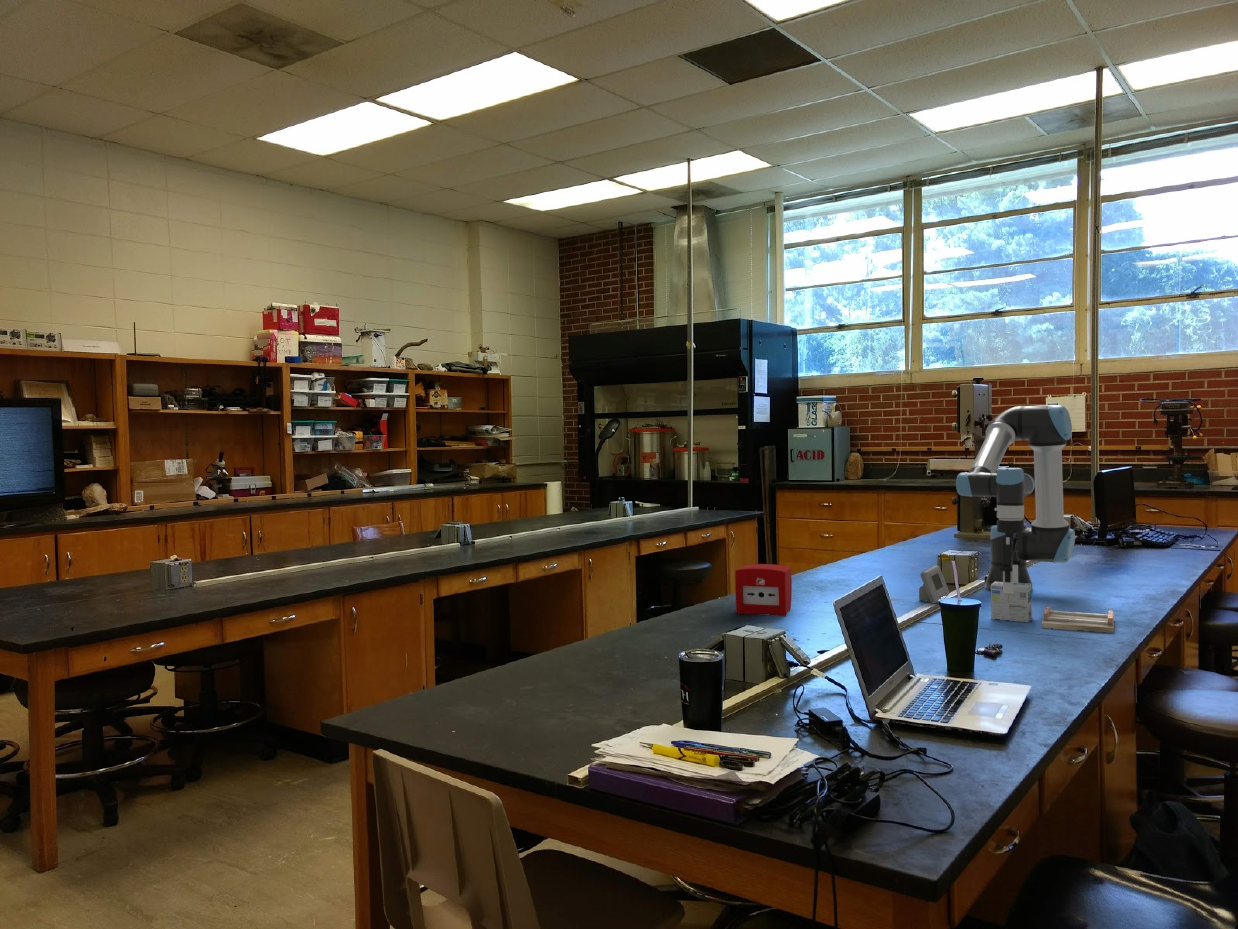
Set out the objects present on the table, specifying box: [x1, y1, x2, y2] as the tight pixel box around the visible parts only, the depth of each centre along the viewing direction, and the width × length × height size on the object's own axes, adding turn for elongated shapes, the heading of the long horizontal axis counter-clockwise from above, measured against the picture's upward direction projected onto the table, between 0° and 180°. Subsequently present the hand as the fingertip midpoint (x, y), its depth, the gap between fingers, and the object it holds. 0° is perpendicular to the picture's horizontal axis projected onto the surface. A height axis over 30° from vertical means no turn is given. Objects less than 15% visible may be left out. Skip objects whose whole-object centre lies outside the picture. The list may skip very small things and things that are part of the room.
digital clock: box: [918, 565, 950, 604], centre depth 298 cm, size 16×9×11 cm, turn 133°
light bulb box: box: [990, 582, 1033, 623], centre depth 265 cm, size 11×7×11 cm, turn 58°
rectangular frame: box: [1043, 605, 1114, 625], centre depth 257 cm, size 11×18×2 cm, turn 60°
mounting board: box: [1041, 614, 1115, 634], centre depth 257 cm, size 18×18×2 cm
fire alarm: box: [734, 563, 793, 617], centre depth 286 cm, size 16×11×15 cm
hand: (1010, 589), depth 265 cm, fingers open, 13 cm apart
